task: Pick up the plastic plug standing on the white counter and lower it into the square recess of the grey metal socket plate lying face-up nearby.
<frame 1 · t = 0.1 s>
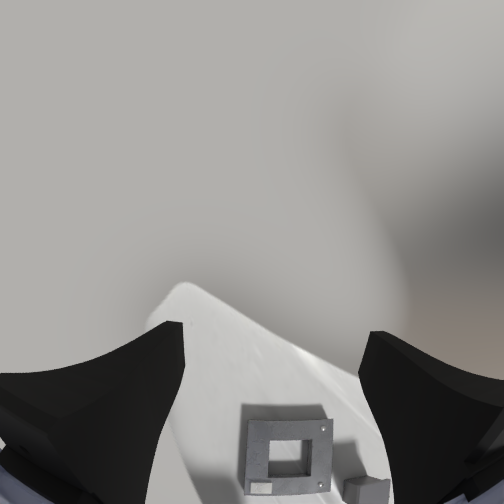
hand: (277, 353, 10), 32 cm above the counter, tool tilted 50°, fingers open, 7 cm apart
socket plate: (287, 457, 31), on the counter
plug: (355, 488, 27), on the counter
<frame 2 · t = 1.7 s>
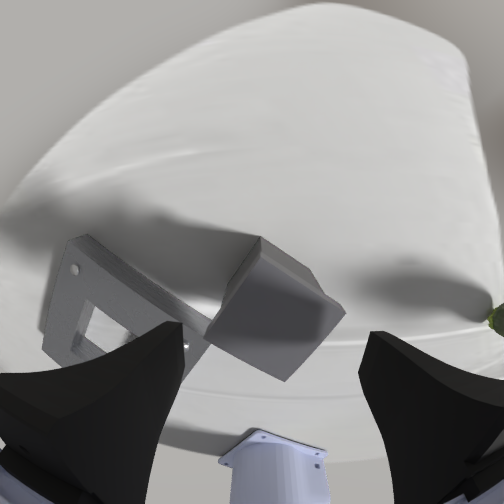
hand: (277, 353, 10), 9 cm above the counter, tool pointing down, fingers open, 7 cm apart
socket plate: (120, 334, 20), on the counter
vegetable: (494, 305, 19), on the counter
plug: (268, 277, 18), on the counter
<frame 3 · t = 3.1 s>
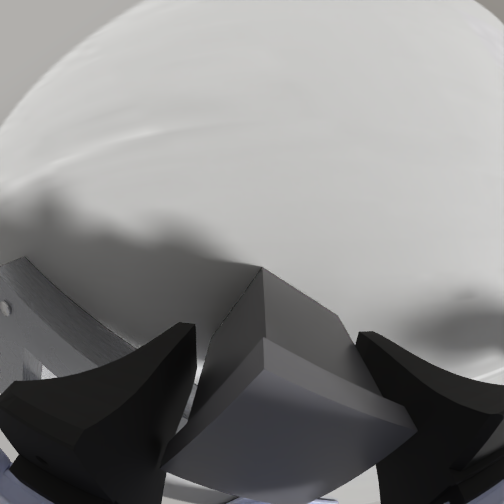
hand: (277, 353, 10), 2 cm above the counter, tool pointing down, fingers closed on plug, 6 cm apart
socket plate: (77, 384, 13), on the counter
plug: (274, 328, 12), on the counter, touching gripper
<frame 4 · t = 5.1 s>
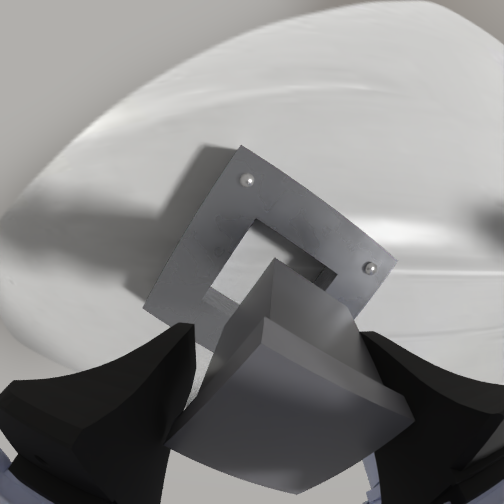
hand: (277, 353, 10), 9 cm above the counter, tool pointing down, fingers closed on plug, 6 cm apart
socket plate: (268, 274, 19), on the counter
plug: (285, 317, 12), point 7 cm above the counter, touching gripper
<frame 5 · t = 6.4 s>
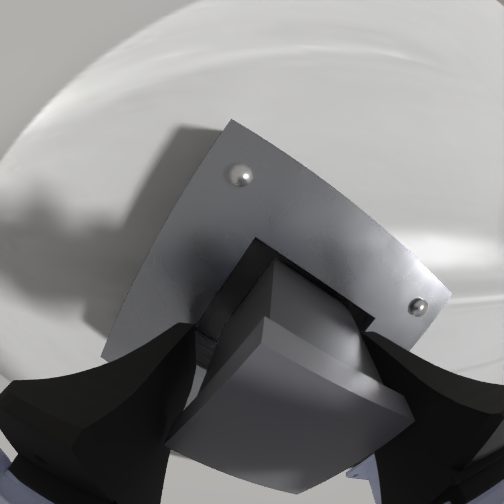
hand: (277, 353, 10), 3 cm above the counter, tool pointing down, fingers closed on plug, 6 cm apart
socket plate: (272, 313, 13), on the counter
plug: (285, 317, 12), point 1 cm above the counter, touching gripper
when the fingers open (3 cm above the counter, at t = 7.2 s): plug drops 1 cm, resting in socket plate.
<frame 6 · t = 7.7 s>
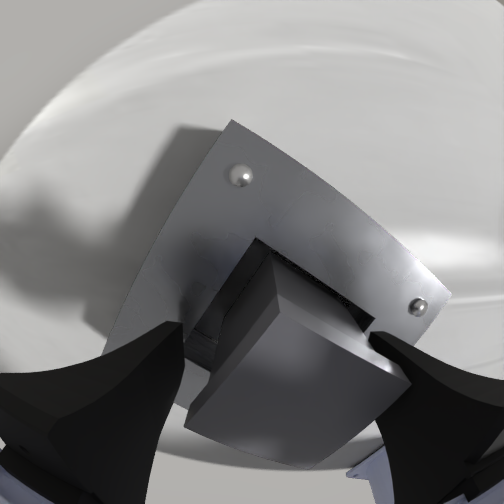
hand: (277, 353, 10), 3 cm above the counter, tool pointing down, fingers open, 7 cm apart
socket plate: (272, 313, 13), on the counter
plug: (281, 307, 13), resting in socket plate
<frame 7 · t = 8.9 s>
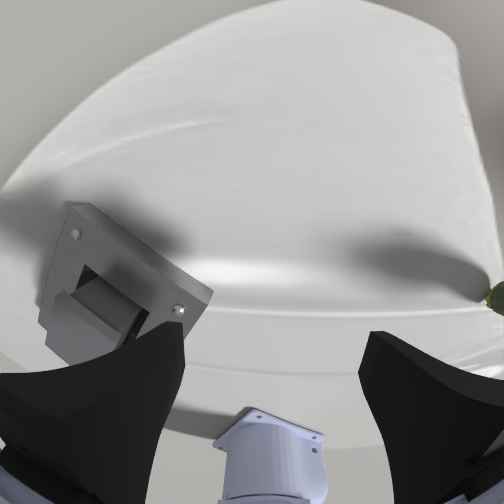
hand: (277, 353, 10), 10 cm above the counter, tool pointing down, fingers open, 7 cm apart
socket plate: (116, 304, 20), on the counter
vegetable: (491, 286, 20), on the counter
plug: (120, 301, 20), resting in socket plate
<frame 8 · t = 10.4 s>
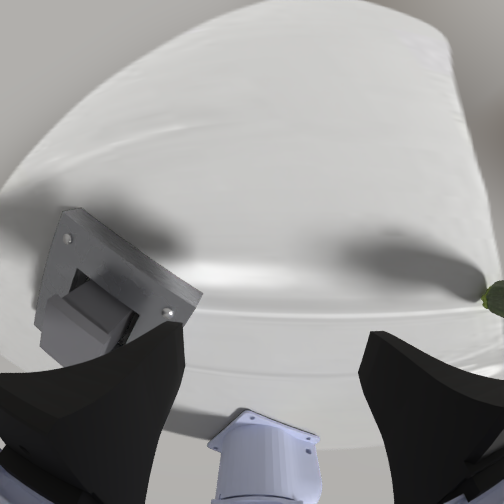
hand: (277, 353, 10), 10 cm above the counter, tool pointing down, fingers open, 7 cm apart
socket plate: (109, 307, 20), on the counter
vegetable: (487, 285, 19), on the counter
plug: (113, 304, 20), resting in socket plate
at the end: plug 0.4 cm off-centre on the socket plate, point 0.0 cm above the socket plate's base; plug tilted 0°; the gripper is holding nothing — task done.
